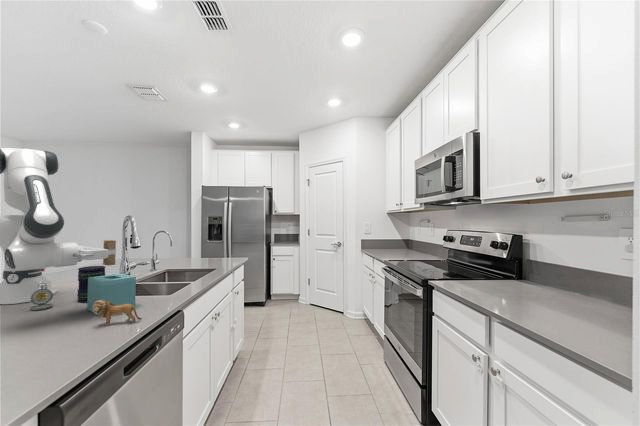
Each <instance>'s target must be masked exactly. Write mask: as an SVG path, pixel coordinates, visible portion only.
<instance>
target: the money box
mask: <svg viewBox="0 0 640 426" xmlns="http://www.w3.org/2000/svg"><path fill="white" fill-rule="evenodd" d="M136 286H137V277H136V276H134V275H130V274H126V273H120V272H119V273H115V274H105V276H97V277H90V278H88V299H87V303H86V304H87V305H86V308H87V311H91V312H92V313H94V312H93V310H92V309H93V303H95V302H96V301H98V300H104V301H107V302H111V303H113V304H114V305H116V306H118V305H125V304H131V305H133V306H134V308H135V309H136V293H137V292H136Z"/></svg>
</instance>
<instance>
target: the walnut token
mask: <svg viewBox="0 0 640 426" xmlns="http://www.w3.org/2000/svg"><path fill="white" fill-rule="evenodd" d="M116 243H117V241H116V240H112V239H108V240H106V239H105V240H103V249H108V250H113V249H114V250H116V251H117V249H116V246H117V245H116ZM115 265H116V254H110V255H108V258H106V259H102V266H115Z"/></svg>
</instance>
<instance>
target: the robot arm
mask: <svg viewBox="0 0 640 426" xmlns="http://www.w3.org/2000/svg"><path fill="white" fill-rule="evenodd" d="M59 169H60V160H59V158H58V156H57V154H56V153H54V152H53V151H52V152H51V151H48V150H40V149H33V148H24V147H23V148H18V147H17V148H16V147H15V148H14V147H0V175H2V174H4V175H3V192H4V193H3V194H4V202H5V203H6V204H7V206H9V207H11V208H13V209H15V210H18V211H21V213H23V214H0V248H1V250H2V252H3V257H4V259H3V260H4V270H3V271H2V279H3V281H1V282H0V305H14V304H23V303H29V302H32V301H31V295H32V294H33V293H34V292H35V291H37V290H39V289H41V287H39V286H41V285H43V286H44V287H43V289H48V290H50V291H51V292H52V294H53V295H55V294H56V293H58V290H57V289H52V282H51V281H50V280H49V279H47V278H46V277H45V276H44V275H43V272H45V271H46V268H52V267H54V268H60V267H61V268H62V267H63V268H64V267H71V266H76V265H77V264H78V263H80V262H82V261H93V260H103V259H106V258H108V255H110V254H115V255H116V254H117V249H116V250H114V249H113V250H108V249H104V248H100V247H95V246H88V245H87V246H86V245H80V244H79V245H78V243H77V242H55V238H56V237H57V236H59V234H60V233H61V231H62V229H63V228H64V225H65V219H64V217H63V215H62V214H61V213H60V211H59V210H58V209H57V207H55V203H54V200H53V196H52V192H51V189H50V179H49V176H51V175H54V174H56V173H58V171H59ZM40 283H42V284H40ZM44 283H46V284H47V285H46V284H44ZM39 284H40V285H39ZM38 285H39V286H38ZM45 285H46V286H45ZM45 296H47V297H48V295H47V294H45ZM47 297H45V298H47ZM42 298H43V297H42ZM36 299H37V298H36ZM38 301H42V300H41V299H40V298H39V300H38Z"/></svg>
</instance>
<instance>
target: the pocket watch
mask: <svg viewBox="0 0 640 426" xmlns="http://www.w3.org/2000/svg"><path fill="white" fill-rule="evenodd" d="M40 284H42V283H40ZM40 284H39V285H40ZM44 284H46V283H44ZM39 285H38V286H39ZM46 285H47V284H46ZM46 285H45V286H46ZM39 287H41V289H39V290H37V291H35V292H34V293H33V294H32V295H31V301H30V302H31V303H33V304H34V306H31V307H30V310H31V311H43V310H47V309H51V308H52V307H53V306H54V304H52V303H49V302H50V301H52V299H53V298H54V294H52V292H51V291H50V290H48V289H43V287H44V286H43V285H41V286H39ZM45 294H47V295H48V297H47V296H45ZM42 297H43V298H42ZM45 297H47V298H45ZM36 298H37V299H36ZM39 298H40V299H41V300H39Z"/></svg>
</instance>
